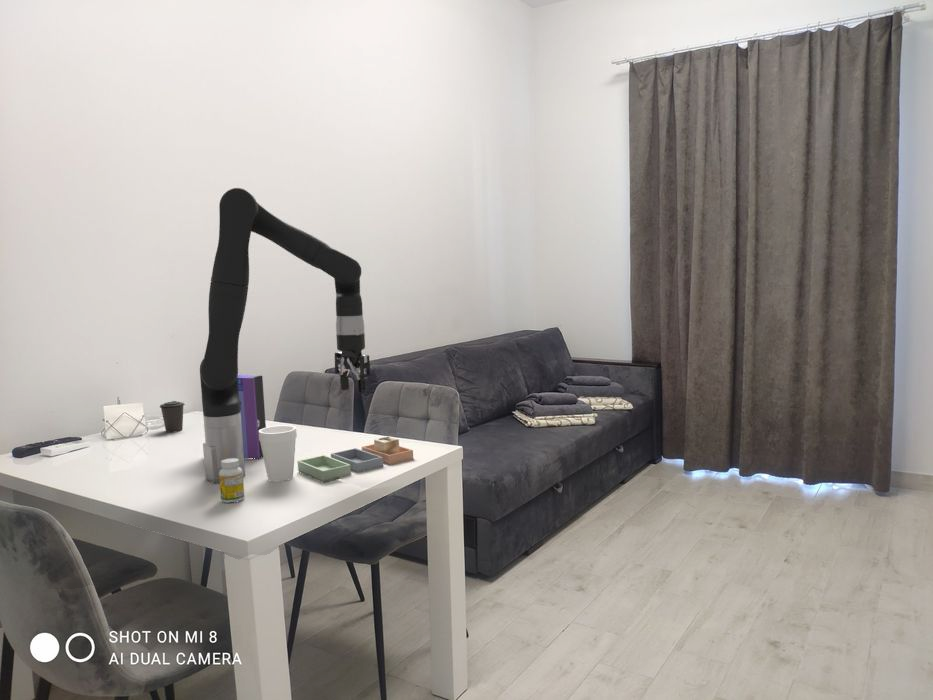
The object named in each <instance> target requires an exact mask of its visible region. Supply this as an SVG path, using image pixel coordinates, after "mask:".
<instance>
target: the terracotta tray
mask: <svg viewBox="0 0 933 700" xmlns="http://www.w3.org/2000/svg"><path fill="white" fill-rule="evenodd" d="M361 450H363V451H366V452H369V453H372V454H375V455H378V456H381V457H383V464H387V465H393V464H397V463H400V462H401V463H402V462H405V461H409V460H414V451H413V450H414V449H410V448H407V447H404V446H401V445H399V453H396V454H392V455H388V454H385V453H382V452H379V451H375V446H374V444H373V443H372V444H368V445H364V446H361Z"/></svg>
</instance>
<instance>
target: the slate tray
mask: <svg viewBox="0 0 933 700" xmlns="http://www.w3.org/2000/svg"><path fill="white" fill-rule="evenodd" d="M330 457H331V458H334V459H336V460H339V461H342V462H344V463H347V464H350V465H351V471H353V472H356V473H361V472H364V471H365V472H366V471H369V470H372V469H377V468H381V467H384V463H383V457H381V456H378V455H375V454H372V453H369V452H366V451H363V450H362V449H359V448H351V449H346V450H342V451H336V452H331V453H330Z"/></svg>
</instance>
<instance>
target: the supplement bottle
mask: <svg viewBox="0 0 933 700" xmlns="http://www.w3.org/2000/svg"><path fill="white" fill-rule="evenodd" d="M221 466H222V468H223V469H221V470H220V472H219V481H220V482H219V492H220V493H219V495H220V501H221V502H222V503H224V502H227V503H226V504H230V503H229V502H234V503H237V501H239V502H242V501H243V500H244V499H245V487H244V477H243V471H242V469H241V468H240V467H238V466H239V459H236V458H230V459H225V460H222V461H221Z"/></svg>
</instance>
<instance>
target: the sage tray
mask: <svg viewBox="0 0 933 700" xmlns="http://www.w3.org/2000/svg"><path fill="white" fill-rule="evenodd" d="M297 471H299V472H298V473H300V472H301V473H300V474H302V473H303V475H305V476H308V477H309V476H310V477H309V478H312V479H314V480H316V481H318V482H321V483H328V482H332V481H337V480H341V478H340V477H345V476H349V475H351V474H352V470H351V465H350V464H347V463H344V462H342V461H339V460H336V459H334V458H331V456H328V455H325V454H322V455H318V456H314V457H313V456H312V457H310V458H305V459H301V460H297ZM336 479H337V480H336Z"/></svg>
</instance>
